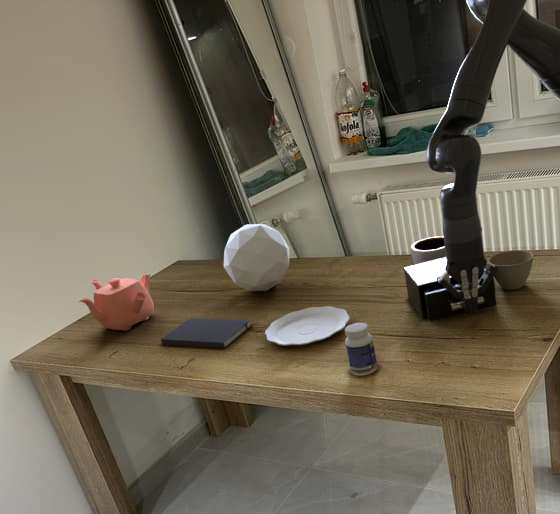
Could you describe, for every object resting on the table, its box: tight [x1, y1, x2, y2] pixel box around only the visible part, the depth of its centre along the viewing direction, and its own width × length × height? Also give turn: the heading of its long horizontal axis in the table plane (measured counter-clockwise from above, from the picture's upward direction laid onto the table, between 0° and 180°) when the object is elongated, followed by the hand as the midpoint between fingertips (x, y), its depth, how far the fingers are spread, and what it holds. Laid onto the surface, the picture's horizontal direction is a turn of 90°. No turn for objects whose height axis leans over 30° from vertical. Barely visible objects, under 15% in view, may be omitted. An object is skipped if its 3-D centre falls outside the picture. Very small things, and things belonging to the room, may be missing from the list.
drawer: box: [422, 273, 497, 323], centre depth 155 cm, size 17×15×7 cm
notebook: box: [160, 317, 252, 349], centre depth 179 cm, size 13×2×21 cm
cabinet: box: [403, 257, 484, 321], centre depth 161 cm, size 14×17×9 cm
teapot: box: [77, 273, 155, 332], centre depth 199 cm, size 18×18×14 cm
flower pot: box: [487, 249, 534, 291], centre depth 161 cm, size 10×10×7 cm
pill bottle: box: [344, 322, 378, 377], centre depth 141 cm, size 6×6×10 cm
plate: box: [264, 305, 351, 346], centre depth 167 cm, size 21×21×2 cm
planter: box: [410, 236, 446, 265], centre depth 175 cm, size 11×11×10 cm
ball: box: [223, 223, 290, 292], centre depth 198 cm, size 19×20×20 cm
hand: (471, 312), depth 147 cm, fingers closed
